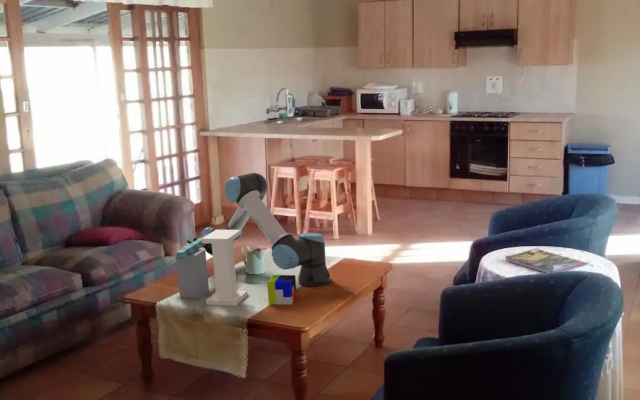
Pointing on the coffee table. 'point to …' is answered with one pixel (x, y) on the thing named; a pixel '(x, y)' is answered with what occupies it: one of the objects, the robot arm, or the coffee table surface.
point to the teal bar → (190, 249)
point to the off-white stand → (224, 268)
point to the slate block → (193, 275)
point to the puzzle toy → (281, 289)
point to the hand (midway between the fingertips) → (195, 235)
